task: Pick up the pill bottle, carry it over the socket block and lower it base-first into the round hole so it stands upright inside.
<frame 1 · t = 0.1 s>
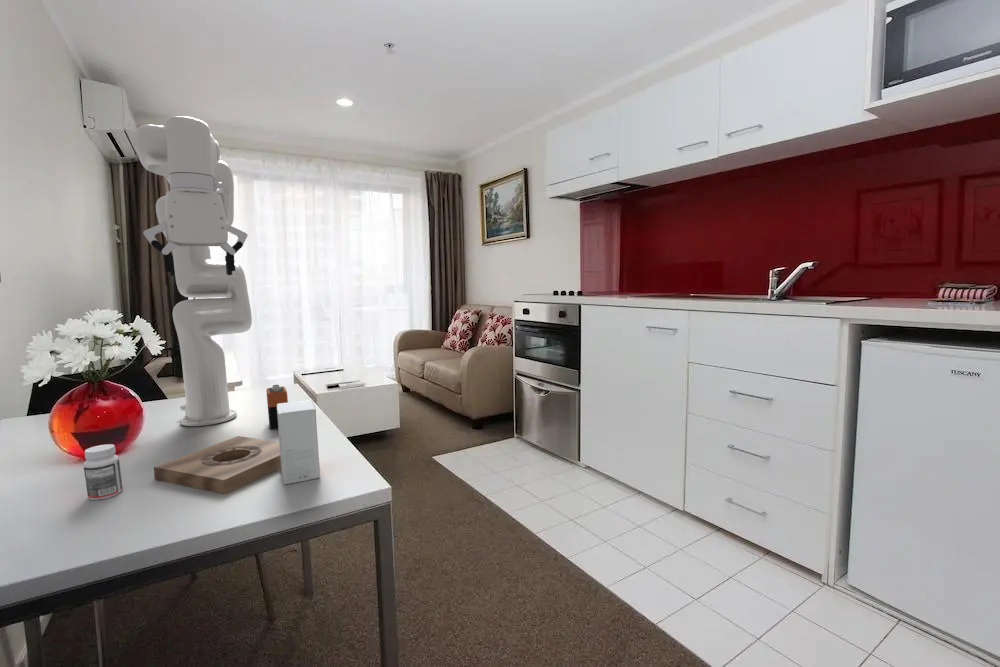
hand: (201, 275, 97), 37 cm above the table, tool pointing down, fingers open, 9 cm apart
socket block: (233, 467, 95), on the table
pill bottle: (105, 495, 84), on the table
battery: (279, 426, 122), on the table
small box: (300, 475, 91), on the table
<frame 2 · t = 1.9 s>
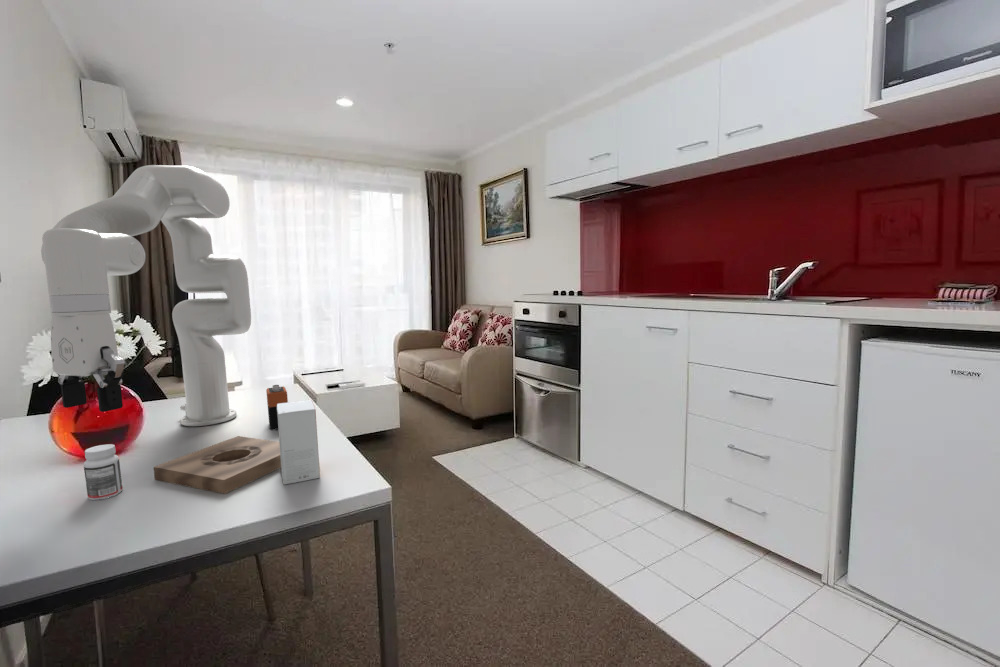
hand: (93, 407, 82), 15 cm above the table, tool pointing down, fingers open, 9 cm apart
nothing on the table moved.
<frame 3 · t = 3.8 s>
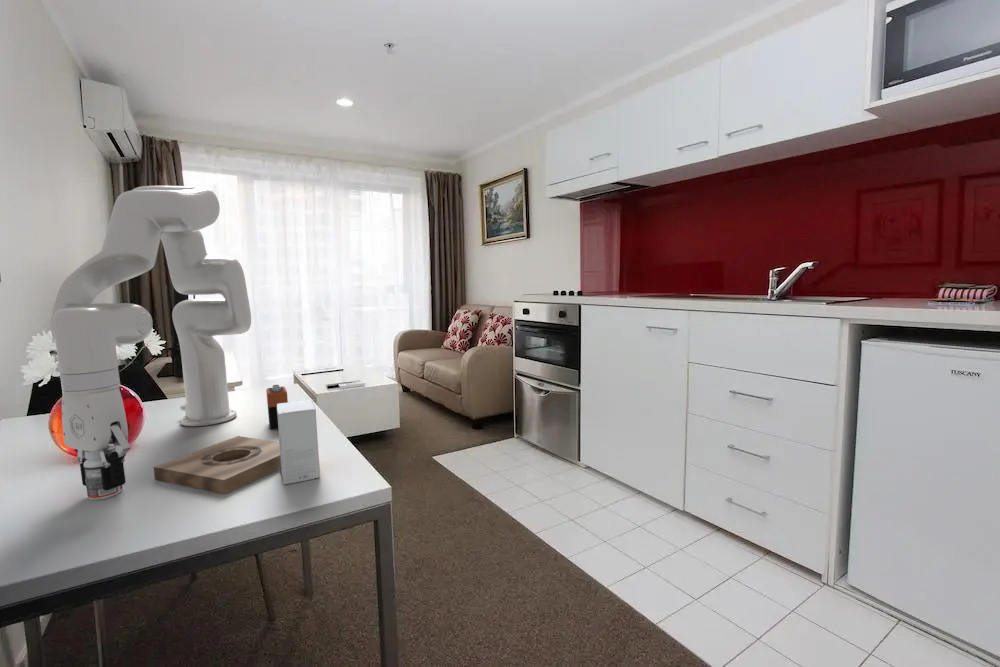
hand: (104, 483, 84), 2 cm above the table, tool pointing down, fingers closed on pill bottle, 4 cm apart
pill bottle: (105, 495, 84), on the table, touching gripper
everything else where it was.
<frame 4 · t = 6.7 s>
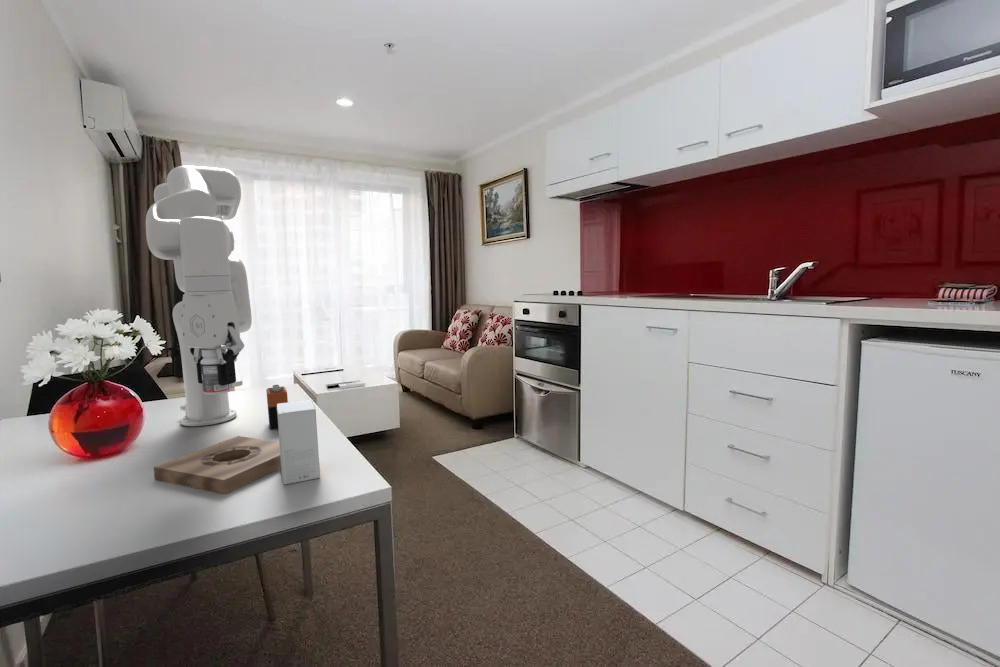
hand: (217, 381, 92), 17 cm above the table, tool pointing down, fingers closed on pill bottle, 4 cm apart
pill bottle: (218, 393, 93), point 15 cm above the table, touching gripper
everything else where it was.
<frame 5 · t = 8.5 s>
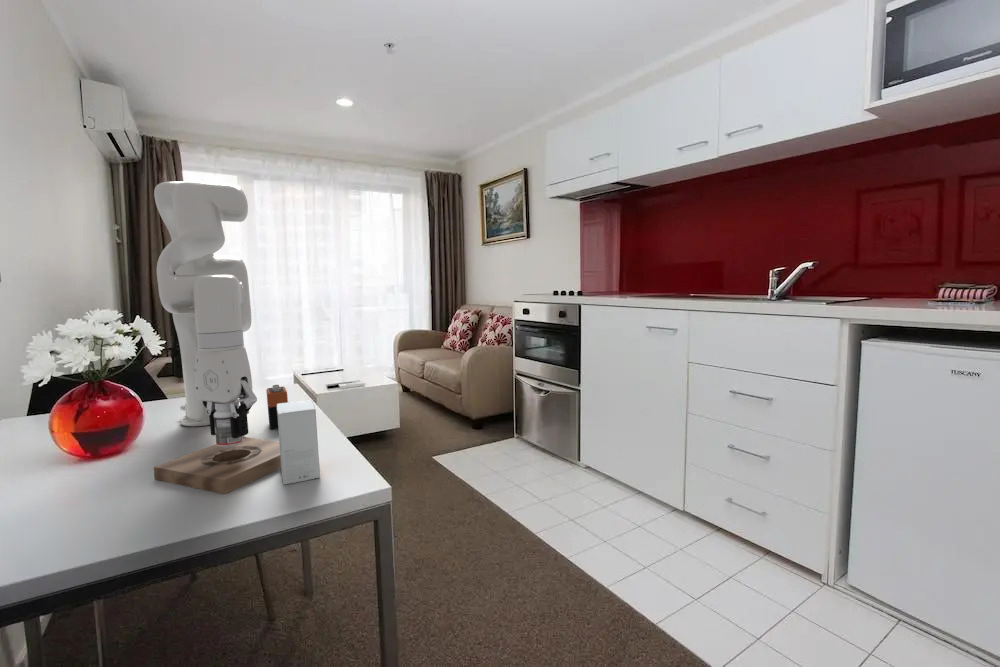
hand: (229, 433, 94), 7 cm above the table, tool pointing down, fingers closed on pill bottle, 4 cm apart
pill bottle: (230, 444, 94), point 5 cm above the table, touching gripper
everything else where it was.
when the fingers open (3 cm above the table, at t = 9.9 s): pill bottle drops 1 cm, resting in socket block.
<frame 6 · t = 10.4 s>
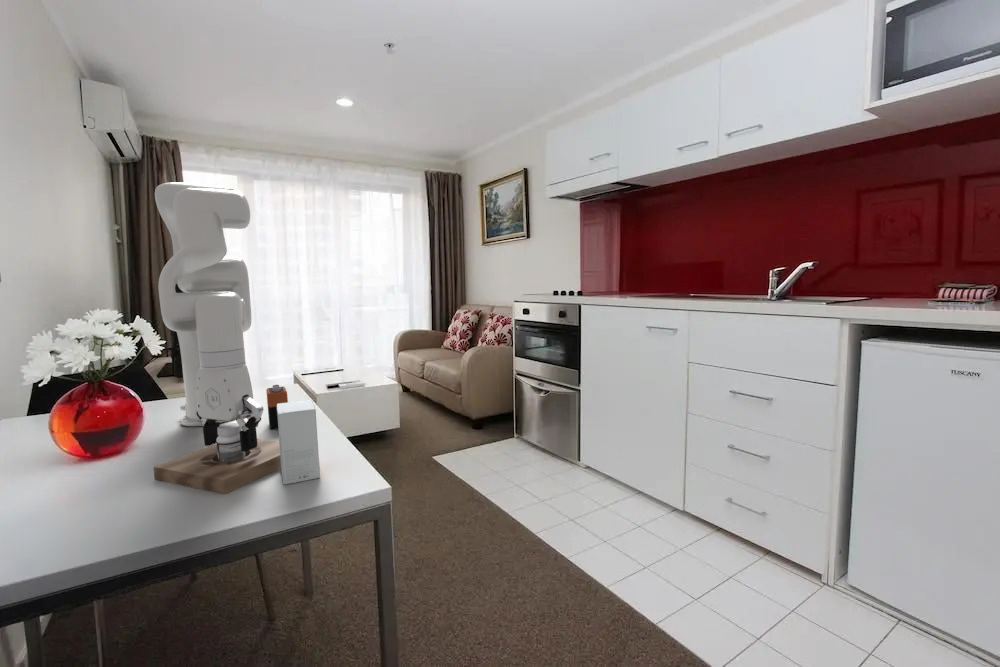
hand: (231, 446, 94), 4 cm above the table, tool pointing down, fingers open, 9 cm apart
pill bottle: (233, 468, 95), resting in socket block
everything else where it was.
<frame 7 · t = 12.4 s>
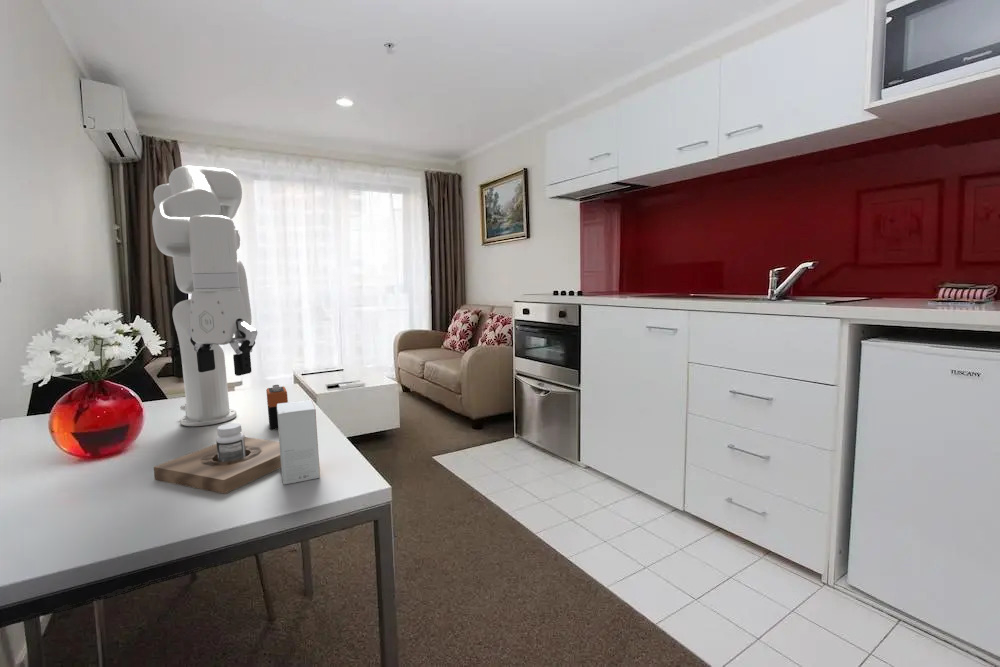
hand: (224, 372, 94), 19 cm above the table, tool pointing down, fingers open, 9 cm apart
nothing on the table moved.
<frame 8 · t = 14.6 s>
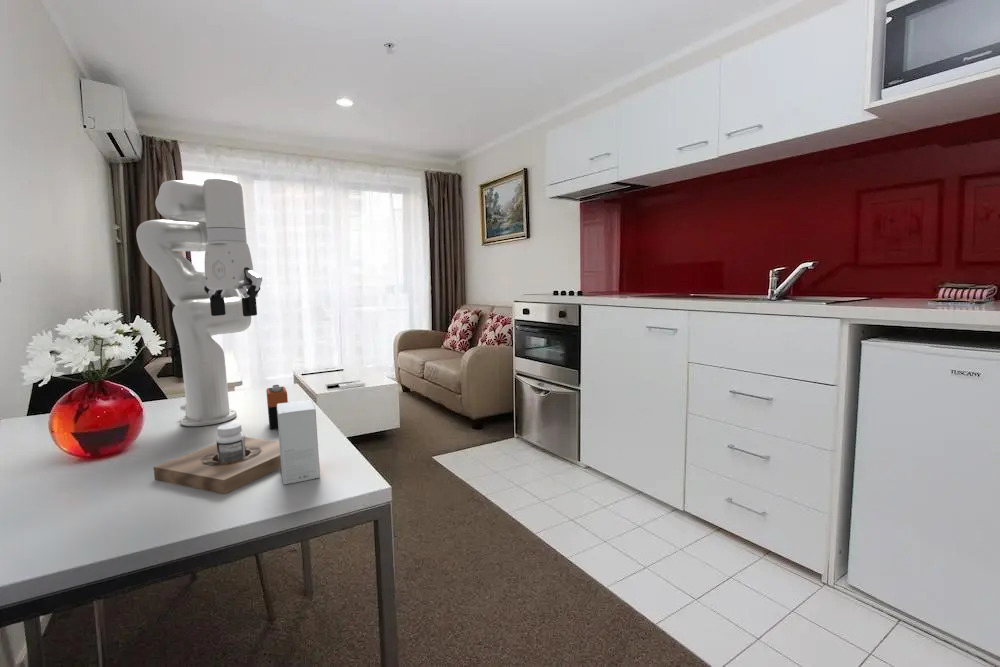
hand: (234, 315, 109), 28 cm above the table, tool pointing down, fingers open, 9 cm apart
nothing on the table moved.
at the end: pill bottle 0.1 cm off-centre in the socket block, point 0.0 cm above the socket block's base; pill bottle tilted 0°; the gripper is holding nothing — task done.
